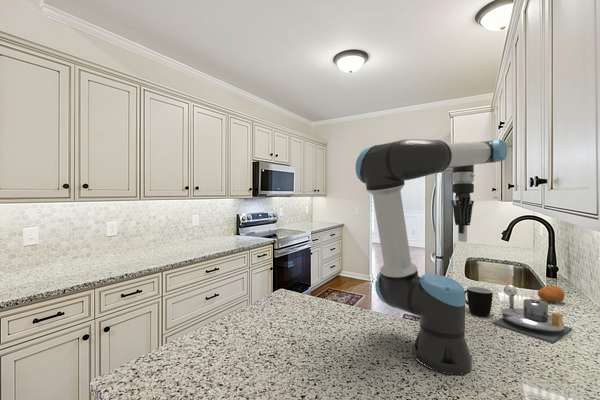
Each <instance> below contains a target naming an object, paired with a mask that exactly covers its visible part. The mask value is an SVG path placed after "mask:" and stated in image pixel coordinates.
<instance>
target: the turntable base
mask: <svg viewBox="0 0 600 400" xmlns="http://www.w3.org/2000/svg"><path fill="white" fill-rule="evenodd" d="M491 325H493V326H498V327H500V328H503V329H506V330H510V331H512V332H515V333H519V334H522V335H524V336H528V337H530V338H534V339H537V340H540V341H544V342H545V343H546V342H547V343H549V344H555V343H556V342H558V340H560V339H562V338H563V337H564V336H566V335H567V334H568V333H570V332H571V331H572V330H573V328H572V327H569V326H566V325H564V330H562V331H558V332H549V331H540V330H534V329H530V328H526V327H522V326H519V325H516V324H514V323H511V322H509V321H507V320H506V319H504V318H503V317H501V318H498V319H497V320H495V321H494V320H493V321H492V323H491Z"/></svg>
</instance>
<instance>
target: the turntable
mask: <svg viewBox="0 0 600 400" xmlns="http://www.w3.org/2000/svg"><path fill="white" fill-rule="evenodd" d="M501 316H502V317H501V318H504V319H506V320H507V321H509V322H511V323H514V324H516V325H519V326H522V327H526V328H530V329H534V330H540V331H549V332H558V331H562V330H564V326H565V323H564V321H563V314H561V313H558V312H551V315H550V314H548V322H546V323H542V322H535V321H531V320H528V319H526V318H524V316H523V308H518V307H514V308H509V307H507V308H504V309H502V310H501Z"/></svg>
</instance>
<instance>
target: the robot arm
mask: <svg viewBox="0 0 600 400" xmlns="http://www.w3.org/2000/svg"><path fill="white" fill-rule="evenodd" d="M507 156H508V146H507V143H506V141H505V140H504V139H492V140H485V141H467V142H465V141H464V142H462V141H461V142H446V141H444V140H441V139H418V138H417V139H416V138H415V139H413V138H411V139H401V140H398V141H393V142H387V143H383V144H374V145H372V146H369V147H366V148H365V149H363V150H362V151H361V152H360V153H359V155H358V156H357V158H356V160H355V161H356V162H355V175H356V177H357V178H358V179H359V181H360V182H361V183H363V184H365V188H366V191H367V192H368V193H369V194H371V195H372V199H373V206H374V211H375V219H376V224H377V225H376V226H377V230H378V236H379V237H378V238H379V242H380V250H381V255H382V260H383V265H382V266H381V267H380V268H379V269H380V270H379V273H378V274H377V275H376V280H375V281H374V282H375V284H374V287H375V292H376V295H377V297H378V298H379V300H380V301H381V302H382V303H383V304H385V305H388V306H390V307H392V308H394V309H399V310H401V311H403V312H406V313H409V314H412V315H414V316H416V317H417V316H418V317H419V331H418V333H417V335H416V336H417V337H416V339H415V342H414V344H413V352H414V354H413V356H414V355H415V357H416V358H417V359H418V360H419V361H420V362H422V363H423V364H425V365H426V366H428V367H430V368H432V369H434V370H437V371H441V372H445V373H452V374H451V375H453V374H460V375H462V374H461V373H465V374H468V373H470V372H471V371H472V368H473V359H472V355H471V352H470V349H469V346H468V342H467V340H466V337H465V336H466V335H465V334H466V331H465V329H466V324H465V323H466V305H467V304H466V300H467V299H466V300H465V298H466V294H465V291H466V290H465V288H464V286H463V285H462V284H461V283H460V282H459V281H457V280H456V279H453V278H451V277H448V276H444V275H440V274H439V275H438V274H435V273H425V274H422V275H421V276H419V272H418V266H417V265H415V264H414V263H413V262H412V258H411V252H410V246H409V239H408V233H407V227H406V225H407V224H406V218H405V212H404V207H403V205H404V204H403V200H402V193H401V191H402V189H403V188H404V186H405V185H406V184H405V182H406V181H410V180H416V179H419V178H423V177H426V176H427V177H428V176H430V175H434V174H435V175H436V174H440V173H442V172H445V171H446V170H447V169H451V168H452V183H453V184H452V193H453V194H455V196H454V199H452V200H451V201H450V202H451V205H452V209H453V210H452V211H453V218H454V224H455V226H458V228H457V229H458V231H457V233H458V239H457V241H458V242H461V243H467V242H468V226H470V225H471V220H472V214H473V206H474V203H475V201H474V200H471V194H473V193H474V192H475V185H474V182H475V181H474V180H475V178H474V177H475V175H476V174H475V172H474V171H475V165H483V164H491V163H495V164H496V163H499V162H503V161H505V159H507ZM415 357H414V358H415ZM432 369H431V370H432ZM434 370H433V371H434ZM470 370H471V371H470ZM437 371H436V372H437ZM469 371H470V372H469ZM441 372H440V373H441ZM467 372H468V373H467ZM445 373H444V374H445Z"/></svg>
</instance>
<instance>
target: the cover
mask: <svg viewBox="0 0 600 400" xmlns="http://www.w3.org/2000/svg"><path fill="white" fill-rule="evenodd" d="M522 302H523V308H522V309H523V316H524V318H526V319H528V320H531V321H535V322H542V323H546V322H548V315H549V304H548V302H546V301H542V300H538V299H531V298H530V299H529V298H526V299H523V301H522Z"/></svg>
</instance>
